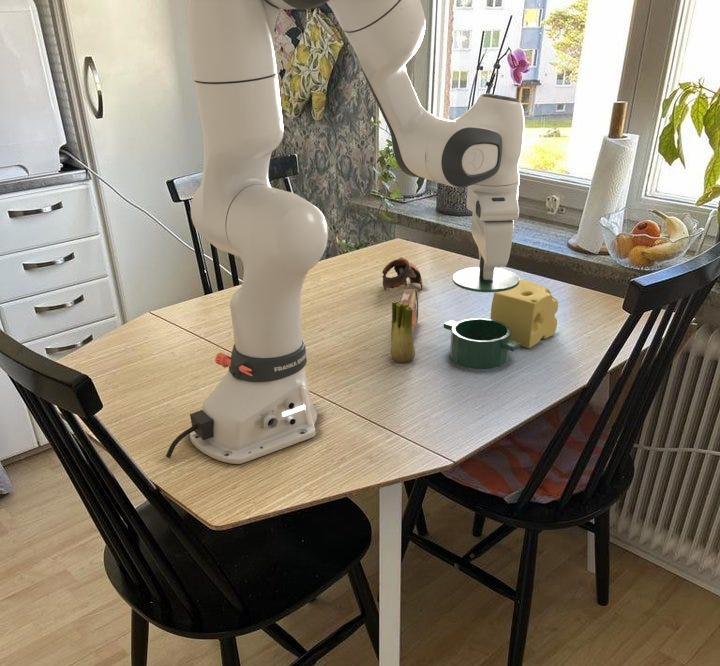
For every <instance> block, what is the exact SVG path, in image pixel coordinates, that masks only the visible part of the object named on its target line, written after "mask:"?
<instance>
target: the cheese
mask: <svg viewBox="0 0 720 666" xmlns="http://www.w3.org/2000/svg"><path fill="white" fill-rule="evenodd" d="M558 310H559V301H558V299H557V298H555V297H554V296H553V295H552V292H551V290H550V289H549V288H548V287H546V286H543V285H541V284H538V283H535V282H533V281H529V280H525V279H521V278H520V282H519V284H518V285H517V286H516V287H515V288H513V289H510V290H506V291H501V292H493V296H492V301H491V307H490V317H489V319H493V320H496V321H500V322H503V323H504V324H506V325H507V326H509V327H510V330H511V340H513V341H516V342H519V343H521V344H520V347H523V348H526V349H531V348H533V346H535V345H537V344H539V343H540V341H541V339H542V340H543V339H544V340H545V339H548V338H550V337H552V336H554V335H555V334H556V331H557V328H558V318H556V314H557V312H558Z"/></svg>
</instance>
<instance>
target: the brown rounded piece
mask: <svg viewBox="0 0 720 666" xmlns="http://www.w3.org/2000/svg"><path fill="white" fill-rule="evenodd" d="M391 269H393V270H394V271H395V273H396V276H392V277H389V276H387V275H388V273H389V272H390V270H391ZM382 274H383V275H382V277H381V278H382V287H383V290H384V291H386V290H387V289H395V288H399V287H402V286H407V287H408V281H407V279H408V278H409V283H410V284H419V285H420V290H421V291H423V290H424V282H423V278H422V276H421V272H420V271H419V268H418V267H417V266H416V264H413V263H412V262H409V261H408V260H407V258H404V257H398V258H396V259H393V260H392V261H390V262H388V263H387V264H386V265H385V267H384V268H383V269H382Z"/></svg>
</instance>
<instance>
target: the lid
mask: <svg viewBox="0 0 720 666" xmlns="http://www.w3.org/2000/svg"><path fill="white" fill-rule="evenodd" d="M479 262H480V269H479V266H473V267H467V268H464V269H460V270H458V271H456V272H455V273H453V275H452V283H453V284H454V285H455V286H457V287H459V288H461V289H463V290H467V291H471V292H477V293H495V292H501V291H506V290H510V289H513V288H515V287H516V286H517V285H518V284H519V282H520V279H521V278H520V276H519V275H518V274H517V273H516V272H514V271H512V270H509V269H506V268H502V267H495V269H494V275H493V279H492V280H485V279H484V278H483V275H482V274H483V268H484V259H483V257H482V256H481V258H480V260H479Z"/></svg>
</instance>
